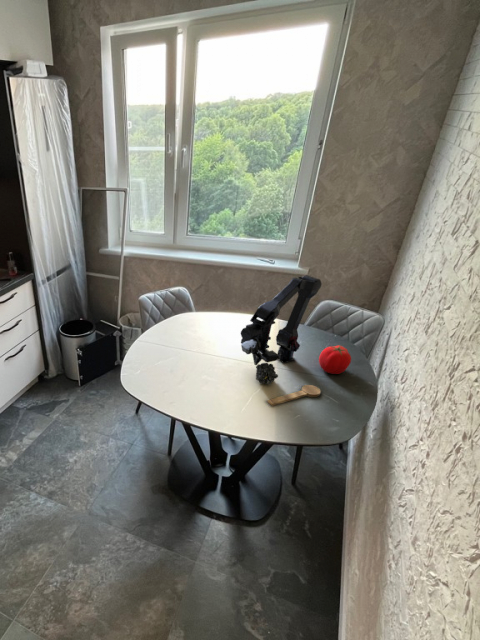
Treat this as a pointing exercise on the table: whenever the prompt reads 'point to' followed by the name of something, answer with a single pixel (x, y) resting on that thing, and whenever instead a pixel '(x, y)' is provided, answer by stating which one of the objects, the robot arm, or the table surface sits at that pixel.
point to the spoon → (297, 395)
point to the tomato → (334, 359)
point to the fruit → (265, 373)
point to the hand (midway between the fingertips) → (255, 364)
